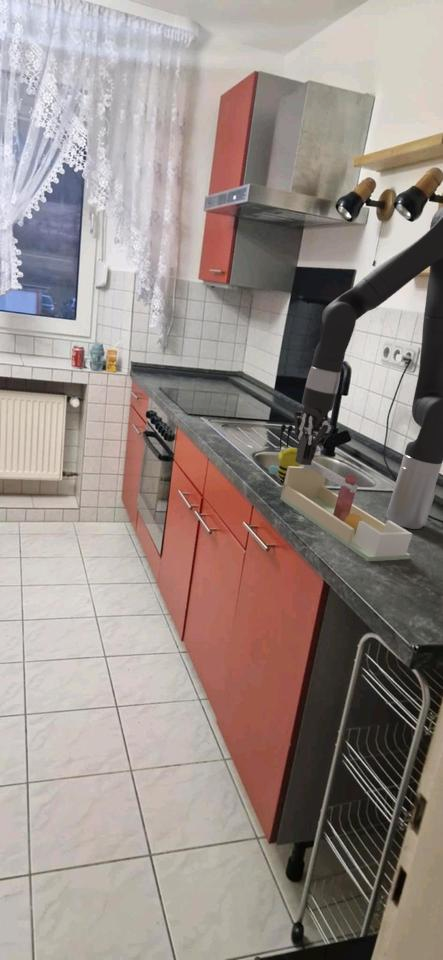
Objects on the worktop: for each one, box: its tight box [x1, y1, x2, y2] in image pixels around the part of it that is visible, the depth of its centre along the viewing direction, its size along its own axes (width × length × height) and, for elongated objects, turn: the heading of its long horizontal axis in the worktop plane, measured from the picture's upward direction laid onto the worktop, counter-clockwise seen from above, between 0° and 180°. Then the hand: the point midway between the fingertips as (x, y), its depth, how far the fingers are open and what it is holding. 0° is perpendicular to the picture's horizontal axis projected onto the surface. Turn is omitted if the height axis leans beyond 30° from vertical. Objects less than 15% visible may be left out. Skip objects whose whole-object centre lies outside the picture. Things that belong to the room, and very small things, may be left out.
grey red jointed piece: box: [295, 436, 359, 521], centre depth 147 cm, size 6×18×15 cm, turn 27°
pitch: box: [279, 466, 413, 562], centre depth 143 cm, size 12×34×9 cm, turn 28°
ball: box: [345, 513, 363, 531], centre depth 140 cm, size 4×4×4 cm
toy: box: [268, 423, 301, 483], centre depth 171 cm, size 6×14×15 cm
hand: (304, 456), depth 151 cm, fingers closed on grey red jointed piece, 2 cm apart
